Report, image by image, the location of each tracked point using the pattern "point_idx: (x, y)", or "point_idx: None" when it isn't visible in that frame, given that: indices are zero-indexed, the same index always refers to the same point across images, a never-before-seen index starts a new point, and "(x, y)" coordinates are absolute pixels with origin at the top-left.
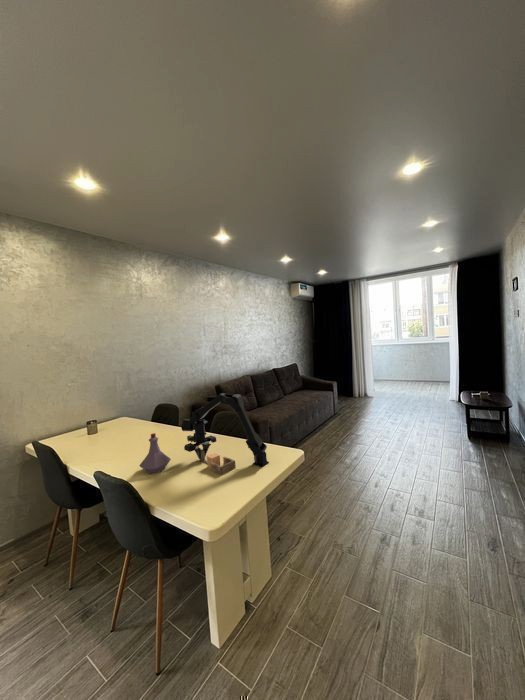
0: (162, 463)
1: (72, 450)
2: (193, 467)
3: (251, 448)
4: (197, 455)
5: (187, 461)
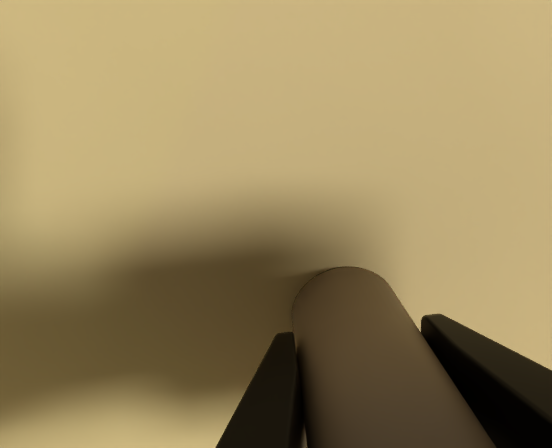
0: None
1: None
2: (98, 423)
3: None
4: (244, 409)
5: (64, 86)
